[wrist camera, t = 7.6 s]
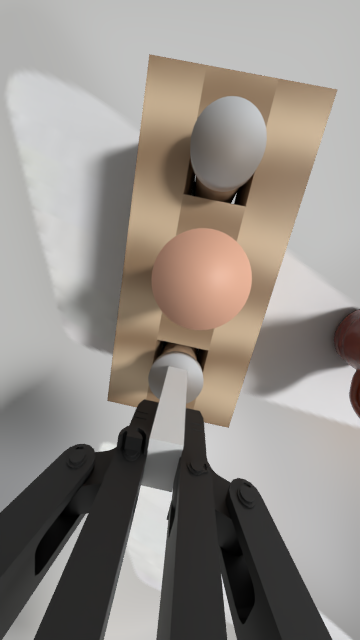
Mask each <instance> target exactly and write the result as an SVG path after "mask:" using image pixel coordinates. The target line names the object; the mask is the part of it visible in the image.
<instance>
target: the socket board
mask: <svg viewBox="0 0 360 640" xmlns="http://www.w3.org/2000/svg"><path fill="white" fill-rule="evenodd" d="M336 92H337V90H336V89H331V88H326V87H320V86H314V85H309V84H304V83H299V82H294V81H288V80H283V79H278V78H272V77H267V76H262V75H256V74H251V73H246V72H240V71H235V70H230V69H224V68H219V67H213V66H208V65H203V64H198V63H192V62H187V61H182V60H176V59H171V58H166V57H160V56H155V55H149V64H148V71H147V79H146V87H145V96H144V104H143V112H142V121H141V129H140V137H139V145H138V153H137V161H136V170H135V178H134V186H133V194H132V203H131V211H130V219H129V227H128V235H127V244H126V252H125V260H124V268H123V277H122V285H121V293H120V301H119V309H118V318H117V326H116V334H115V342H114V351H113V359H112V367H111V376H110V384H109V392H108V401H111V402H115V403H120V404H124V405H129V406H133V407H137V406H138V404H139V403H140V402H141V401H143V400H144V399H146V400H150V401H155V402H159V401H160V399H158V398H157V397H156V396H155V395H154V394H153V392H152V391H151V389H150V386H149V382H148V376H149V372H150V369H151V367H152V365H153V363H154V361H155V360H156V359H157V358H158V357H159V356H161V355H162V354H161V353H162V347H163V342H164V341H167V342H171V343H176V344H181V345H185V346H190V347H195V348H199V350H198V355H197V361H198V363H199V364H200V366H201V368H202V372H203V388H202V390H201V392H200V394H199V395H198V396H197V398H195V399H194V400H193V401H191V402H189V403H187V404H186V408H189V409H194V410H198V411H200V412H201V414H202V416H203V418H204V422H205V423H210V424H215V425H219V426H223V427H229V424H230V421H231V418H232V415H233V412H234V409H235V406H236V403H237V400H238V397H239V394H240V390H241V387H242V384H243V381H244V378H245V375H246V372H247V369H248V366H249V363H250V359H251V356H252V353H253V350H254V347H255V344H256V341H257V338H258V335H259V331H260V328H261V325H262V322H263V319H264V316H265V313H266V310H267V307H268V304H269V300H270V297H271V294H272V291H273V288H274V285H275V282H276V279H277V276H278V273H279V269H280V266H281V263H282V260H283V257H284V254H285V251H286V248H287V245H288V241H289V238H290V235H291V232H292V229H293V226H294V223H295V219H296V217H297V213H298V210H299V207H300V204H301V201H302V198H303V195H304V192H305V189H306V186H307V182H308V179H309V176H310V173H311V170H312V167H313V164H314V161H315V157H316V155H317V151H318V148H319V145H320V142H321V139H322V136H323V133H324V130H325V127H326V123H327V120H328V117H329V114H330V111H331V108H332V105H333V102H334V99H335V96H336ZM227 96H237V97H241V98H244V99H246V100H248V101H250V102H251V103H253V104H254V105H255V106H256V107H257V109H258V110H259V111H260V113H261V115H262V117H263V119H264V122H265V126H266V132H267V141H266V148H265V152H264V155H263V157H262V160H261V162H260V164H259V165H258V167H257V169H256V170H255V172H254V174H253V175H252V176H251V178H250V179H249V180H248V181H247V182H246V183H245V184H243V185H242V186H240V187H239V189H238V191H237V195H236V199H235V203H234V204H230V203H225V202H220V201H215V200H210V199H205V198H200V197H195V196H191V195H192V190H193V185H194V180H195V173H194V170H193V167H192V163H191V153H190V142H191V135H192V131H193V128H194V125H195V123H196V121H197V119H198V117H199V116H200V114H201V113H202V111H203V110H204V109H205V108H206V107H207V106H208V105H210V104H211V103H212V102H214V101H216V100H217V99H220V98H223V97H227ZM197 228H208V229H214V230H218V231H221V232H223V233H225V234H227V235H229V236H230V237H232V238H233V239H234V240H235V241H236V242H237V243H238V244H239V245H240V246H241V247H242V248H243V250H244V252H245V253H246V255H247V257H248V259H249V263H250V266H251V271H252V284H251V290H250V294H249V296H248V299H247V301H246V303H245V305H244V306H243V308H242V309H241V311H240V312H239V313H238V314H237V315H236V316H235V317H234V318H233V319H232V320H230V321H229V322H227V323H226V324H224V325H222V326H219V327H217V328H213V329H209V330H192V329H188V328H184V327H182V326H179V325H177V324H176V323H174V322H173V321H171V320H170V319H169V318H168V317H167V316H166V315H165V314H164V313H163V312H162V311H161V309H160V308H159V306H158V305H157V303H156V300H155V298H154V295H153V291H152V281H151V278H152V270H153V266H154V263H155V260H156V258H157V256H158V254H159V253H160V251H161V250H162V248H163V247H164V246H165V245H166V244H167V243H168V242H169V241H170V240H171V239H172V238H174V237H175V236H177V235H178V234H181V233H183V232H185V231H188V230H191V229H197Z"/></svg>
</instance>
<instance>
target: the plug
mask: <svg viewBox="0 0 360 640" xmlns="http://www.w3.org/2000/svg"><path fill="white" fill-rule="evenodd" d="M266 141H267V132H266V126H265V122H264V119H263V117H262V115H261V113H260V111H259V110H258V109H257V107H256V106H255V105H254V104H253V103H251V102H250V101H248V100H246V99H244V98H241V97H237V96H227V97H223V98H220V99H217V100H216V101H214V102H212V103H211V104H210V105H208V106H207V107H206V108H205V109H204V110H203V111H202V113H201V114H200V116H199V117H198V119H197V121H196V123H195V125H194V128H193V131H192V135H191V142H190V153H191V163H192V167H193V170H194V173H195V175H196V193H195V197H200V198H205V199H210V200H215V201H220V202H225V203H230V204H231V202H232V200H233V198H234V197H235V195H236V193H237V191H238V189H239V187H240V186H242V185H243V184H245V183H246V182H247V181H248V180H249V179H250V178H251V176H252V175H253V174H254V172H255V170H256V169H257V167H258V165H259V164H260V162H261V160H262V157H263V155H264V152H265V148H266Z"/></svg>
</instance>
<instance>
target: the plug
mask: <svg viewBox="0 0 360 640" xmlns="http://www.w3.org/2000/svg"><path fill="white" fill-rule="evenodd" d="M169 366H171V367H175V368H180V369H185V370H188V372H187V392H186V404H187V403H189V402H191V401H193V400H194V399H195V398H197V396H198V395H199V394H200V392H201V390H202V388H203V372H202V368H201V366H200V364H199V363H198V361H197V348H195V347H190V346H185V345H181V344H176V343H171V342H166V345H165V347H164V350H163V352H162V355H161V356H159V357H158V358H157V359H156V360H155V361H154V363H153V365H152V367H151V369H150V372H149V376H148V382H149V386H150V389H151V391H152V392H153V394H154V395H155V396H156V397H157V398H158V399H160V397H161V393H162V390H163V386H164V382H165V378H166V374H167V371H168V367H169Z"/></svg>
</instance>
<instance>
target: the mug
mask: <svg viewBox="0 0 360 640" xmlns="http://www.w3.org/2000/svg"><path fill="white" fill-rule="evenodd" d="M334 345H335V349H336V352H337V353H338V355H339V356H340V357H341V358H342V359H343V360H344V361H345V362H347V363H348V364H349V365H351V366H352V367H353V368H355V369H356V372H355V374H354V375H353V378H352V382H351V387H350V392H349V397H350V402H351V405H352V407H353V409H354V411H355V413H356V414H357V416H358V417H359V418H360V309H359V310H356V311H354V312H352V313H351V314H349V315H348V316H347V317H346V318H344V319H343V320H342V322H341V323H340V324H339V326H338V328H337V330H336V332H335V336H334Z"/></svg>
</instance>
